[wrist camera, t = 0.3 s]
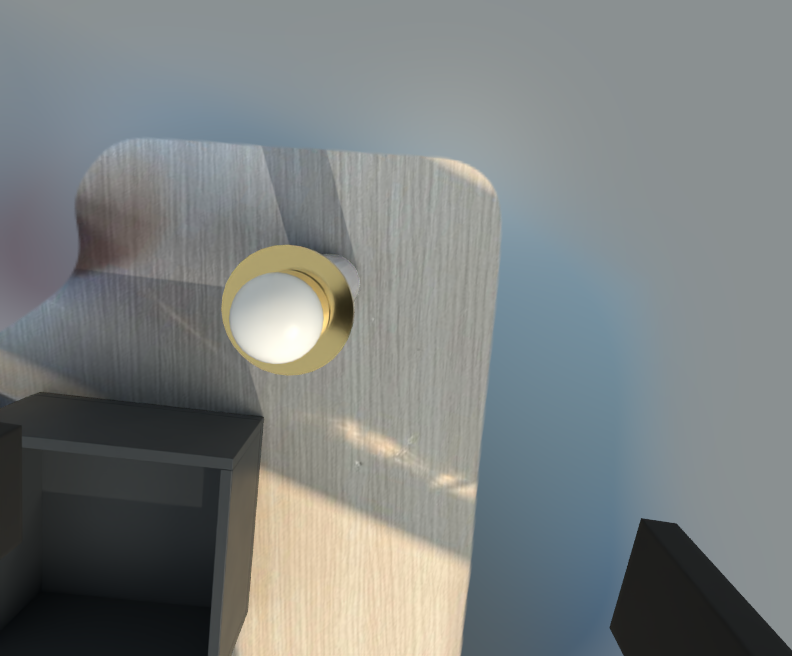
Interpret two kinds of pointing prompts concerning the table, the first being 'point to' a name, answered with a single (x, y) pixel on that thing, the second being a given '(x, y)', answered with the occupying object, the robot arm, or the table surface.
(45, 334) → the table surface
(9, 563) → the bin
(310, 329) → the perfume bottle
